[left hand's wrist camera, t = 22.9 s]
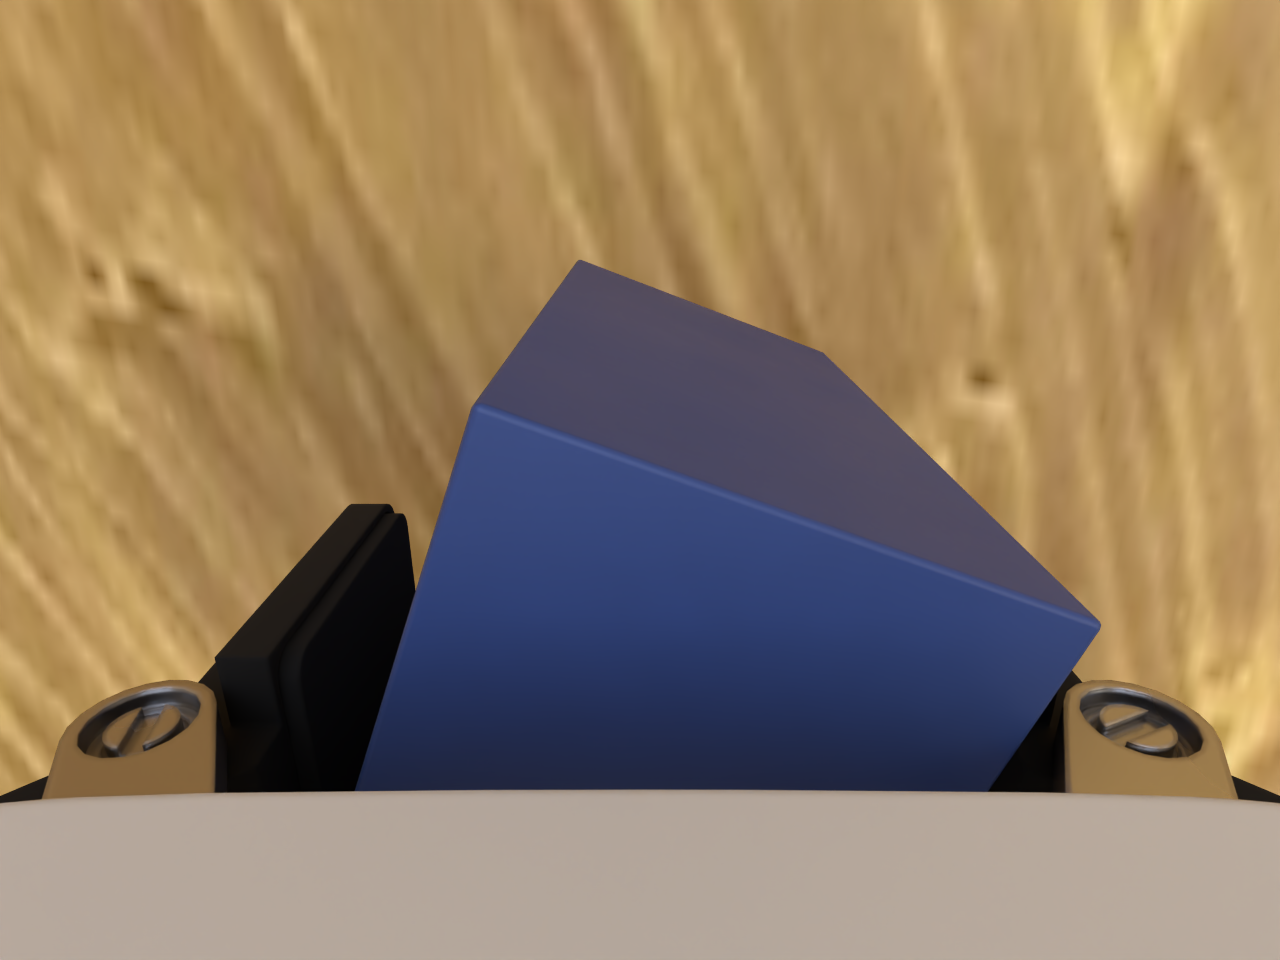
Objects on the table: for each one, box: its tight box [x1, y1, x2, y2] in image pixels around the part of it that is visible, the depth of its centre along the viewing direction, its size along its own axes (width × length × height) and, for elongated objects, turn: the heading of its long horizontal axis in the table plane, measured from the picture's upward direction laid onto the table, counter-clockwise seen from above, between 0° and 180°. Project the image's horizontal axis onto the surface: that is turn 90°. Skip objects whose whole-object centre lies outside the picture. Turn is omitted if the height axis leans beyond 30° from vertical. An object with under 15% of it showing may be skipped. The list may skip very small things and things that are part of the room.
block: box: [355, 260, 1101, 792], centre depth 12 cm, size 5×8×10 cm
